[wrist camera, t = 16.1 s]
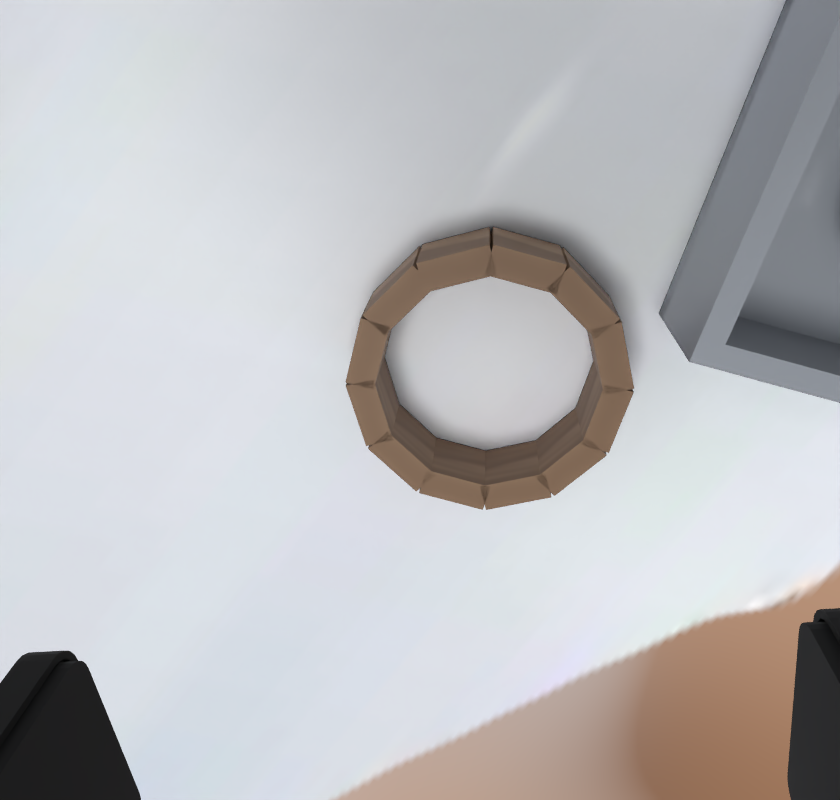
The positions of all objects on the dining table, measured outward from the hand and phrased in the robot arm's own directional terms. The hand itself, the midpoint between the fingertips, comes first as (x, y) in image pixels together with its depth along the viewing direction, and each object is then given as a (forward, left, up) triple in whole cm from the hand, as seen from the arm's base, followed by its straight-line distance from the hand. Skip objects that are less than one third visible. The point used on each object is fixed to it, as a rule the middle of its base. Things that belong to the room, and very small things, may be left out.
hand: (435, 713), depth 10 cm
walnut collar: (+7, +3, -33) cm, 34 cm away
